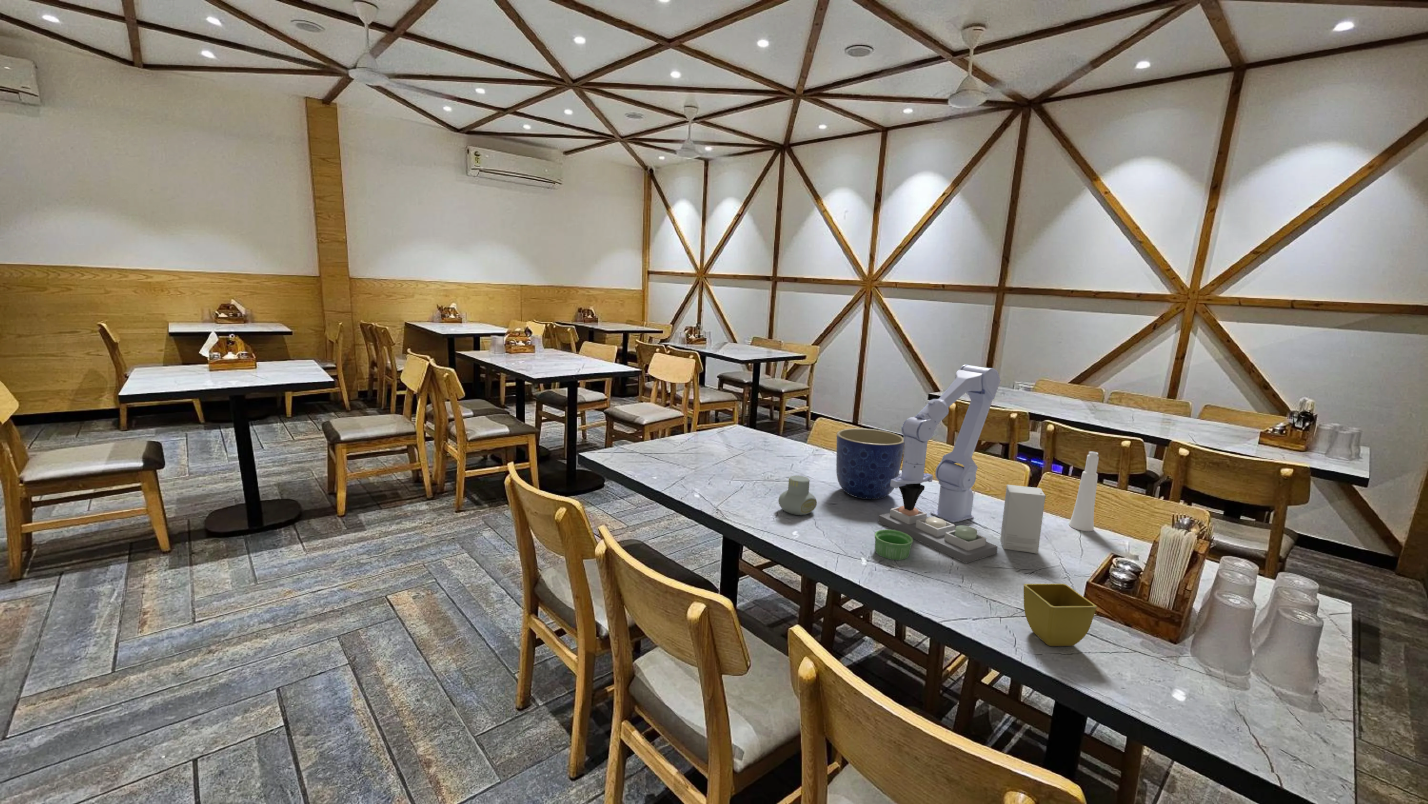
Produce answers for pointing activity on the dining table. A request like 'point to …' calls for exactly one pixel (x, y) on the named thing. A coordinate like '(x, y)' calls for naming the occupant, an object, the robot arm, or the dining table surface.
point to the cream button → (935, 522)
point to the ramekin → (892, 544)
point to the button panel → (938, 536)
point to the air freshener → (797, 497)
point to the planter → (868, 461)
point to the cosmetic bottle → (1086, 496)
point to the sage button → (966, 533)
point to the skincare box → (1022, 518)
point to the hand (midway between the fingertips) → (908, 509)
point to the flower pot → (1057, 613)
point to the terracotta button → (907, 512)
